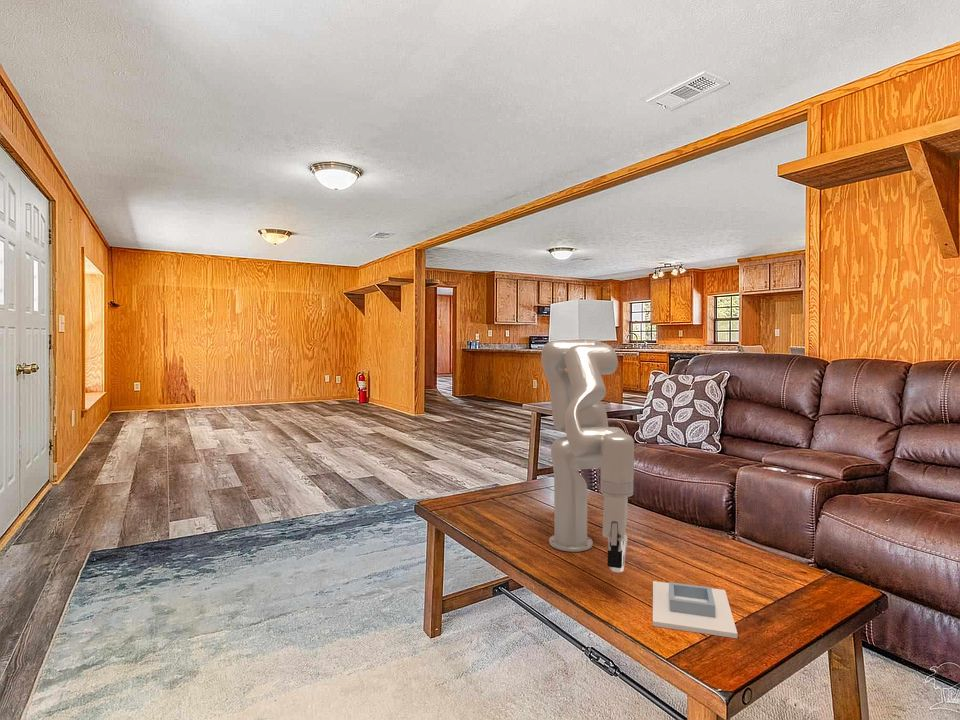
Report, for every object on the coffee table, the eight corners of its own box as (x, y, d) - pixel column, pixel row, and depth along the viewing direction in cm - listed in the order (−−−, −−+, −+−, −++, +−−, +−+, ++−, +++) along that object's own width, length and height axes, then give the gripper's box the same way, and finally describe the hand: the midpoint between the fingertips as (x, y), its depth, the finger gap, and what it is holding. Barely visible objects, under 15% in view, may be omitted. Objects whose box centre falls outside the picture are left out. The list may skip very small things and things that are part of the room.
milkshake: (608, 563, 131) (609, 522, 130) (629, 569, 127) (630, 527, 127) (600, 569, 127) (601, 527, 127) (621, 576, 124) (622, 533, 123)
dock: (652, 585, 130) (653, 570, 130) (724, 594, 126) (725, 579, 125) (652, 626, 111) (652, 609, 111) (737, 638, 107) (737, 621, 106)
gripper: (603, 475, 135) (602, 546, 136) (596, 495, 119) (595, 576, 120) (634, 478, 133) (633, 550, 134) (631, 499, 117) (630, 580, 118)
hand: (615, 561), depth 127 cm, fingers closed on milkshake, 4 cm apart
